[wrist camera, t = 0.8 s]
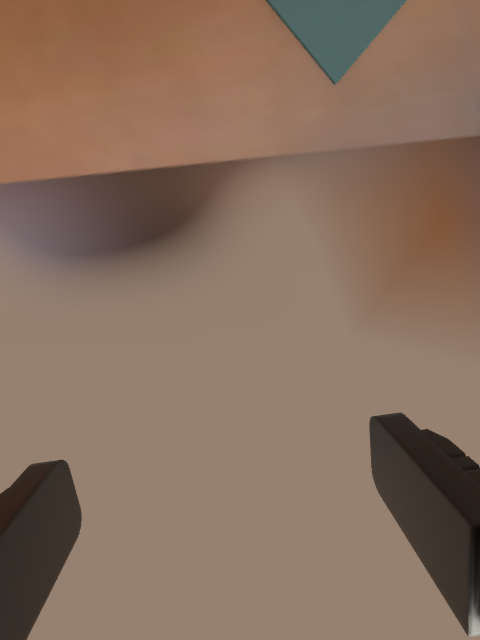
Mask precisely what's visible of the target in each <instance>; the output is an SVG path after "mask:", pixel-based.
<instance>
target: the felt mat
mask: <svg viewBox="0 0 480 640" xmlns="http://www.w3.org/2000/svg"><path fill="white" fill-rule="evenodd" d="M266 1H267V2H268V4H269V5H270V6H271V7H272V8H273V10H274V11H275V12H276V13H277V15H278V16H279V17H280V18H281V20H282V21H283V22H284V23H285V24H286V26H287V27H288V28H289V29H290V31H291V32H292V33H293V34H294V36H295V37H296V38H297V39H298V40H299V42H300V43H301V44H302V45H303V47H304V48H305V49H306V50H307V52H308V53H309V54H310V55H311V56H312V58H313V59H314V60H315V61H316V63H317V64H318V65H319V66H320V68H321V69H322V70H323V71H324V72H325V74H326V75H327V76H328V77H329V79H330V80H331V81H332V82H333V84H334V85H335V84H336V83H337V82H338V81H339V80H340V79H341V78H342V76H343V75H344V74H345V73H346V72H347V70H348V69H349V68H350V67H351V66H352V64H353V63H354V62H355V61H356V60H357V58H358V57H359V56H360V55H361V54H362V53H363V51H364V50H365V49H366V48H367V47H368V45H369V44H370V43H371V42H372V41H373V39H374V38H375V37H376V36H377V35H378V34H379V32H380V31H381V30H382V29H383V28H384V26H385V25H386V24H387V23H388V22H389V20H390V19H391V18H392V17H393V16H394V14H395V13H396V12H397V11H398V10H399V9H400V7H401V6H402V5H403V4H404V3H405V1H406V0H266Z"/></svg>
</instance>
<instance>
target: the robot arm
mask: <svg viewBox="0 0 480 640" xmlns="http://www.w3.org/2000/svg"><path fill="white" fill-rule="evenodd" d="M369 425H370V447H371V467H372V474H373V479H374V482H375V485H376V488H377V490H378V492H379V494H380V496H381V497H382V499H383V501H384V502H385V504H386V506H387V507H388V509H389V510H390V512H391V514H392V515H393V517H394V518H395V520H396V522H397V523H398V525H399V526H400V528H401V530H402V531H403V533H404V534H405V536H406V538H407V539H408V541H409V542H410V544H411V546H412V547H413V549H414V550H415V552H416V554H417V555H418V557H419V558H420V560H421V562H422V563H423V565H424V566H425V568H426V570H427V571H428V573H429V574H430V576H431V578H432V579H433V581H434V582H435V584H436V586H437V587H438V589H439V590H440V592H441V594H442V595H443V597H444V598H445V600H446V602H447V603H448V605H449V606H450V608H451V610H452V611H453V613H454V614H455V616H456V618H457V619H458V621H459V622H460V624H461V626H462V627H463V629H464V630H465V632H466V634H467V635H468V637H470V636H477V635H480V468H479V465H478V464H477V463H475V462H474V461H473V460H472V459H471V458H470V457H469V456H467V457H466V455H465V453H464V452H463V451H461V450H460V449H459V448H458V447H457V446H456V445H455V444H453V443H452V442H451V441H450V440H449V439H447V438H445V437H443V436H441V435H439V434H436V433H434V432H432V431H430V430H428V429H425V430H420V429H419V428H418V427H417V426H416V425H415V424H414V423H412V421H410V420H409V419H408V418H407V417H406V416H405V415H404V414H403V413H394V414H386V415H379V416H373V417H371V419H370V424H369ZM81 518H82V517H81V508H80V505H79V501H78V497H77V494H76V490H75V486H74V483H73V479H72V476H71V472H70V469H69V466H68V464H67V462H66V461H64V460H57V461H50V462H44V463H36V464H32V465H30V466H29V467H28V468H27V469H26V470H25V471H24V472H23V473H22V474H21V475H20V477H19V478H18V479H17V480H16V481H15V482H14V483H13V484H12V485H11V487H10V488H8V489H6V490H5V491H4V492H2V493H1V494H0V640H26V639H27V637H28V635H29V633H30V632H31V629H32V627H33V625H34V624H35V621H36V619H37V618H38V616H39V614H40V611H41V609H42V607H43V606H44V604H45V602H46V599H47V598H48V596H49V594H50V591H51V589H52V588H53V586H54V584H55V582H56V580H57V578H58V576H59V574H60V572H61V570H62V568H63V566H64V564H65V561H66V560H67V558H68V556H69V554H70V552H71V550H72V548H73V546H74V544H75V542H76V540H77V538H78V535H79V531H80V528H81Z"/></svg>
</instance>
